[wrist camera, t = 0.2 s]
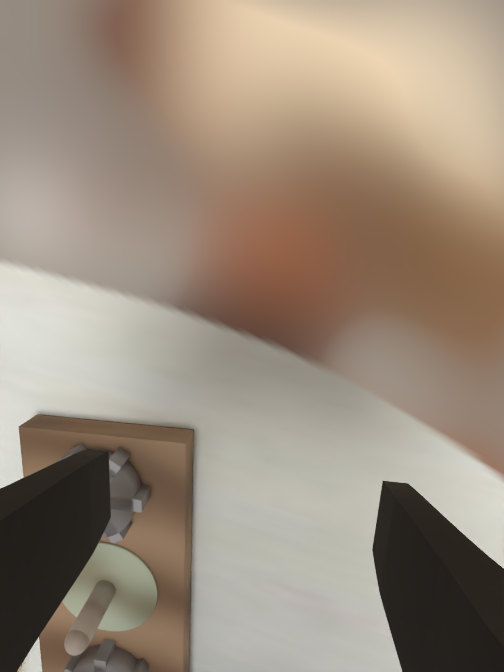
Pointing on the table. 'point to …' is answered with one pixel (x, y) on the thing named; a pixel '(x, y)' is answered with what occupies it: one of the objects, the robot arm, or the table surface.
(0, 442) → the table surface
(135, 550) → the gear board
